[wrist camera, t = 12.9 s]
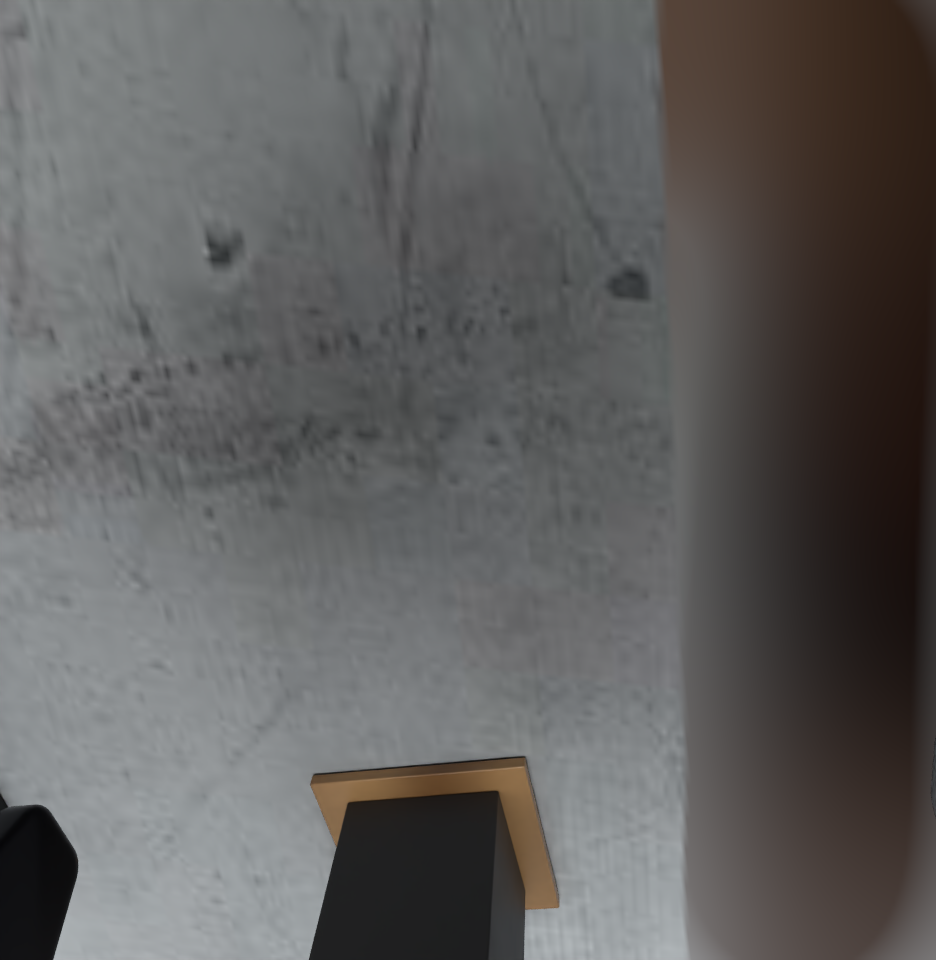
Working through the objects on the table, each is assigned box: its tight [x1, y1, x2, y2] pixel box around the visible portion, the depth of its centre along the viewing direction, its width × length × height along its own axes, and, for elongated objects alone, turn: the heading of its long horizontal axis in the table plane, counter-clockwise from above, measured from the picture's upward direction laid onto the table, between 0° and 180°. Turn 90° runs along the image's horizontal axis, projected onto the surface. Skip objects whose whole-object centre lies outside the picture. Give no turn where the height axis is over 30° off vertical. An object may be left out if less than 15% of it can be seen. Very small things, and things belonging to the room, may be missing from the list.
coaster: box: [310, 758, 559, 910], centre depth 28 cm, size 7×7×1 cm
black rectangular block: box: [309, 791, 525, 960], centre depth 25 cm, size 5×5×7 cm
